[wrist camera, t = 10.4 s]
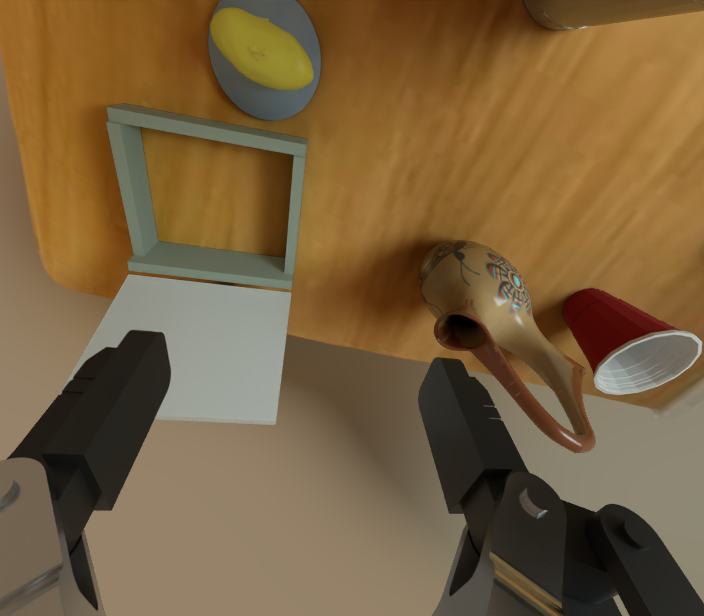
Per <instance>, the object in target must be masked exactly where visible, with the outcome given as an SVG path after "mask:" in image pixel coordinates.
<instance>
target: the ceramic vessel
mask: <svg viewBox="0 0 704 616" xmlns="http://www.w3.org/2000/svg"><path fill="white" fill-rule="evenodd" d="M418 279H419V287H420V291H421V294H422V297H423V299H424V302H425V303H426V305H427V307H428V309H429V310H430V311H431V313H432V314H433V315H434V317H435V318H436V319H437V321H436V323H435V326H434V334H435V337H436V339H437V341H438V342H439V343H440V344H441V345H442V346H444V347H445V348H448V349H451V350H457V351H470V352H472V353H473V354H474V355H475V356H476V358H477V359H478V360H479V361H480V362H481V363H482V364H483V365H484V366H485V367H486V368H487V369H488V370H489V371H490V372H491V373H492V374H493V375H494V376H495V377H496V379H497V380H498V381H499V382H500V383H501V384H502V386H503V387H504V388H505V389H506V390H507V392H508V393H509V394H510V395H511V396H512V398H513V399H514V400H515V401H516V402H517V403H518V405H519V406H520V407H521V409H522V410H523V411H524V412H525V413H526V414H527V416H528V417H529V418H530V419H531V420H532V421H533V423H534V424H535V425H536V426H537V427H538V428H539V429H540V430H541V431H542V432H543V433H545V434H546V435H547V436H548V437H549V438H551V439H552V440H553V441H555V442H556V443H558V444H560V445H561V446H563V447H565V448H567V449H569V450H570V451H572V452H574V453H583V452H588V451H590V450H591V449H593V448H594V446H595V442H596V440H595V435H594V432H593V430H592V427H591V425H590V423H589V421H588V418H587V415H586V412H585V409H584V404H583V397H582V383H583V376H584V374H585V373H586V372H587V369H585V368H584V367H583V366H581V365H580V364H578V363H576V362H575V361H573V360H572V359H570V358H569V357H567V356H566V355H564V354H563V353H562V352H560V351H559V350H558V349H557V348H555V347H554V346H553V345H552V344H551V343H550V342H549V341H548V340H547V339H546V338H545V337H544V336H543V334H542V333H541V332H540V330H539V329H538V327H537V325H536V323H535V321H534V319H533V314H532V307H531V300H530V295H529V292H528V289H527V286H526V284H525V282H524V280H523V278H522V277H521V275H520V274H519V272H518V271H517V270H516V269H515V267H514V266H513V265H512V264H511V263H510V262H509V261H508V260H507V259H505V258H504V257H503V256H502V255H500V254H499V253H497V252H496V251H494V250H492V249H491V248H489V247H486V246H484V245H482V244H479V243H475V242H471V241H465V240H453V241H447V242H443V243H441V244H438V245H437V246H435V247H433V248H432V249H431V250H430V251H429V252H428V253H427V254H426V255H425V256H424V258H423V260H422V262H421V265H420V268H419V275H418ZM498 346H500V347H502V348H504V349H506V350H508V351H510V352H511V353H513V354H514V355H516V356H517V357H519V358H520V359H521V360H522V361H524V362H525V363H526V364H527V365H528V366H530V367H531V368H532V369H533V370H534V371H535V372H536V373H537V374H538V375H539V376H540V377H541V378H542V379H543V381H544V382H545V383H546V384H547V385H548V386H549V387H550V388H551V389H552V390H553V391H554V392H555V394H556V396H557V397H558V399H559V401H560V403H561V404H562V407H563V408H564V410H565V412H566V414H567V416H568V418H569V420H570V422H571V424H572V427H573V429H574V432H575V434H573V433H571V432H570V431H568V430H567V429H565V428H564V427H563V426H561V425H560V424H559V423H558V422H557V421H556V420H554V418H553V417H552V416H551V415H550V414H548V412H547V411H546V410H545V409H544V408H543V407H542V406H541V405H540V403H539V402H538V401H537V400H536V399H535V398H534V396H533V395H532V394H531V393H530V391H529V390H528V389H527V388H526V387H525V385H524V384H523V382H522V381H521V380H520V378H519V377H518V375H517V374H516V373H515V371H514V370H513V368H512V367H511V365H510V364H509V362H508V361H507V359H506V358H505V356H504V355H503V353H502V351H501V350H500V348H499V347H498Z"/></svg>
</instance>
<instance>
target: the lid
mask: <svg viewBox="0 0 704 616" xmlns="http://www.w3.org/2000/svg"><path fill="white" fill-rule="evenodd" d="M290 302H291V293H289V292H280V291H271V290H262V289H254V288H245V287H236V286H227V285H219V284H210V283H201V282H192V281H183V280H175V279H166V278H157V277H148V276H140V275H131V274H128V276H127V278H126V279H125V281H124V283H123V285H122V286H121V288H120V290H119V292H118V293H117V295H116V297H115V299H114V300H113V302H112V304H111V305H110V308H109V309H108V311H107V312H106V314H105V316H104V318H103V319H102V321H101V323H100V325H99V326H98V328H97V330H96V332H95V333H94V335H93V337H92V339H91V340H90V342H89V344H88V345H87V347H86V349H85V351H84V352H83V354H82V356H81V358H80V359H79V361H78V363H77V365H76V366H75V368H74V370H73V371H72V373H71V375H70V377H69V378H68V380H67V382H66V384H65V385H64V387H63V389H64V388H65V386H66V385H67V384H68V383H69V381H70V380H73V376H74V375H75V374H76V373H77V371H78V370H79V369H80V367H81V366H82V365H83V364H84V362H85V361H86V360H87V359H89V358H90V357H92V356H93V355H95V354H96V353H98V352H99V351H101V350H102V349H104V348H105V347H115V348H117V346H118V345H119V344H120V342H121V341H122V340H123V338H124V337H125V335H126V334H127V333H128V332H129V331H130V330H144V331H155V332H162V333H164V335H165V339H166V345H167V350H168V356H169V361H170V367H171V380H170V385H169V388H168V391H167V393H166V395H165V398H164V400H163V402H162V404H161V406H160V408H159V410H158V412H157V415H156V417H155V419H161V420H163V419H164V420H182V421H183V420H185V421H204V422H226V423H247V424H267V425H268V424H269V425H275V424H276V416H277V408H278V400H279V392H280V384H281V375H282V367H283V359H284V350H285V343H286V334H287V326H288V318H289V310H290ZM63 389H62V390H63ZM62 390H61V392H60V394H59V395H61V394H62Z"/></svg>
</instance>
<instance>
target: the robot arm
mask: <svg viewBox="0 0 704 616" xmlns="http://www.w3.org/2000/svg"><path fill="white" fill-rule="evenodd" d="M524 2H525V6H526V8H527V9H528V11H529V13H530V15H531V16H532V17H533V18H534V19H535V20H536V21H537V22H538V23H539V24H540V25H542V26H544V27H546V28H549V29H554V30H566V29H579V28H585V27H589V26H597V25H604V24H612V23H619V22H626V21H633V20H641V19H648V18H655V17H662V16H670V15H677V14H684V13H691V12H699V11H704V0H524ZM170 380H171V367H170V361H169V356H168V350H167V345H166V339H165V335H164V333H162V332H155V331H144V330H130V331H129V332H128V333H127V334H126V335H125V337H124V338H123V340H122V341H121V342H120V344H119V345H118V346H117V348H115V347H105V348H104V349H102V350H101V351H99V352H98V353H96V354H95V355H93V356H92V357H90V358H89V359H87V360H86V361H85V362H84V364H83V365H82V366H81V367H80V369H79V370H78V371H77V373H76V374H75V375H74V376H73V380H70V381H69V383H68V384H67V385H66V386H65V388H64V389H63V390H62V394H61V395H58V397H57V398H56V399H55V400H54V402H53V403H52V404H51V405H50V407H49V408H48V409H47V410H46V412H45V413H44V414H43V415H42V417H41V418H40V419H39V420H38V422H37V423H36V424H35V426H34V427H33V428H32V429H31V431H30V432H29V433H28V434H27V436H26V437H25V438H24V439H23V441H22V442H21V443H20V444H19V446H18V447H17V448H16V449H15V451H14V452H13V453H12V454H11V455H10V456H9V457H8V458H7V459H6V460H3V461H0V616H106V615H105V611H104V608H103V604H102V600H101V596H100V592H99V588H98V584H97V580H96V576H95V572H94V567H93V563H92V560H91V556H90V551H89V547H88V543H87V539H86V535H85V531H84V527H85V526H86V523H87V522H88V520H89V518H90V516H91V514H92V512H93V510H109V511H110V510H112V508H113V506H114V504H115V502H116V500H117V498H118V495H119V493H120V491H121V489H122V487H123V485H124V483H125V481H126V478H127V476H128V474H129V472H130V470H131V468H132V466H133V463H134V461H135V459H136V457H137V455H138V453H139V451H140V449H141V447H142V444H143V442H144V440H145V438H146V436H147V433H148V432H149V429H150V427H151V425H152V423H153V421H154V419H155V417H156V415H157V412H158V410H159V408H160V406H161V404H162V402H163V400H164V398H165V395H166V393H167V391H168V388H169V385H170ZM418 402H419V409H420V412H421V416H422V419H423V423H424V426H425V430H426V433H427V437H428V441H429V444H430V448H431V451H432V455H433V458H434V462H435V465H436V469H437V472H438V476H439V479H440V483H441V486H442V490H443V493H444V497H445V500H446V504H447V507H448V511H449V513H450V514H464V515H465V519H466V522H467V524H466V525H465V527H464V529H463V532H462V535H461V538H460V542H459V545H458V548H457V551H456V554H455V558H454V560H453V564H452V567H451V570H450V573H449V576H448V579H447V582H446V586H445V589H444V592H443V595H442V597H441V600H440V602H439V604H438V606H437V608H436V609H435V611H434V613H433V615H432V616H622V615H621V613H620V611H619V609H618V607H617V605H616V603H615V601H614V599H613V597H614V596H616V595H618V594H619V596H620V598H621V600H622V602H623V604H624V605H625V608H626V609H627V611H628V613H629V615H630V616H704V603H703V602H702V600H701V599H700V597H699V596H698V594H697V593H696V591H695V590H694V588H693V587H692V585H691V584H690V582H689V581H688V579H687V578H686V576H685V575H684V573H683V572H682V570H681V569H680V567H679V566H678V564H677V563H676V562H675V560H674V558H673V557H672V555H671V554H670V553H669V551H668V550H667V548H666V546H665V545H664V543H663V542H662V540H661V539H660V538H659V536H658V535H657V533H656V532H655V531H654V530H653V529H652V527H651V526H650V525H649V524H648V523H647V522H646V521H645V520H643V519H642V518H641V517H640V516H638V515H637V514H636V513H634V512H633V511H631V510H629V509H627V508H625V507H623V506H620V505H616V504H608V505H605V506H604V507H603V508H601V509H600V510H599V511H597V512H593V511H590V510H588V509H585V508H582V507H580V506H577V505H574V504H571V503H569V502H566V501H563V500H561V499H560V498H559V496H558V495H557V493H556V492H555V491H554V490H553V489H552V488H551V487H550V486H549V485H548V484H547V483H546V482H545V481H543V480H542V479H541V478H539V477H537V476H536V475H533V474H531V473H529V472H528V470H527V468H526V466H525V464H524V462H523V460H522V458H521V456H520V454H519V452H518V450H517V448H516V446H515V444H514V443H513V440H512V438H511V436H510V434H509V432H508V431H507V429H506V427H505V425H504V423H503V421H501V417H500V415H499V413H498V411H497V409H496V408H494V403H493V401H492V399H491V397H490V395H489V393H488V391H487V390H486V389H485V388H484V386H483V385H482V384H481V383H480V382H479V381H478V380H477V379H476V378H475V377H469V375H468V373H467V371H466V369H465V367H464V364H463V363H462V361H461V360H459V359H450V358H438V357H436V358H435V359H434V360H433V361H432V363H431V366H430V368H429V370H428V372H427V374H426V376H425V379H424V381H423V383H422V385H421V387H420V390H419V397H418Z"/></svg>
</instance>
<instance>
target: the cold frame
mask: <svg viewBox="0 0 704 616" xmlns="http://www.w3.org/2000/svg"><path fill="white" fill-rule="evenodd" d="M106 109H107V113H108V118H109V121H107V122H106V125H107V130H108V134H109V139H110V144H111V149H112V153H113V158H114V163H115V168H116V172H117V177H118V182H119V187H120V191H121V196H122V201H123V206H124V210H125V215H126V220H127V225H128V229H129V234H130V239H131V244H132V248H133V253H134V255H133V256H132V257H131V258H130V259H129V260H128V261H127V265H128V269H129V271H137V272H145V273H154V274H162V275H171V276H180V277H188V278H197V279H206V280H214V281H223V282H232V283H240V284H249V285H257V286H266V287H275V288H283V289H292V284H293V277H294V269H295V260H296V250H297V240H298V230H299V220H300V210H301V200H302V191H303V181H304V171H305V161H306V151H307V141H308V139H306V138H301V137H296V136H290V135H285V134H280V133H275V132H270V131H264V130H259V129H254V128H249V127H244V126H239V125H233V124H228V123H223V122H218V121H213V120H207V119H202V118H197V117H192V116H187V115H182V114H176V113H171V112H166V111H161V110H156V109H150V108H145V107H140V106H135V105H130V104H125V103H124V104H119V105H114V106H109V107H106ZM140 127H144V128H150V129H155V130H161V131H166V132H172V133H177V134H183V135H188V136H193V137H199V138H204V139H210V140H215V141H221V142H226V143H232V144H237V145H242V146H248V147H253V148H259V149H264V150H270V151H275V152H281V153H286V154H292V155H294V160H293V172H292V185H291V197H290V209H289V221H288V234H287V246H286V258H282V257H275V256H267V255H259V254H252V253H244V252H237V251H229V250H221V249H214V248H206V247H199V246H191V245H183V244H176V243H168V242H160V241H158V237H157V231H156V225H155V218H154V212H153V206H152V200H151V193H150V187H149V181H148V175H147V168H146V162H145V156H144V149H143V143H142V137H141V131H140Z"/></svg>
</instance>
